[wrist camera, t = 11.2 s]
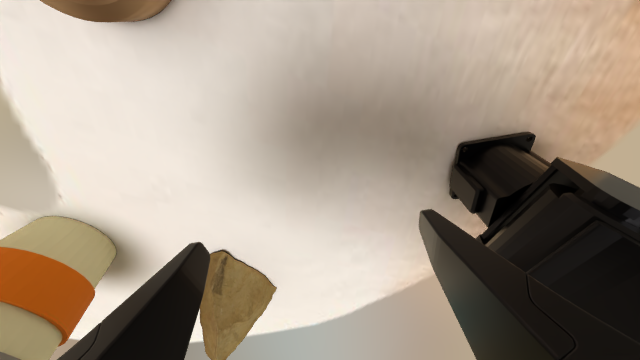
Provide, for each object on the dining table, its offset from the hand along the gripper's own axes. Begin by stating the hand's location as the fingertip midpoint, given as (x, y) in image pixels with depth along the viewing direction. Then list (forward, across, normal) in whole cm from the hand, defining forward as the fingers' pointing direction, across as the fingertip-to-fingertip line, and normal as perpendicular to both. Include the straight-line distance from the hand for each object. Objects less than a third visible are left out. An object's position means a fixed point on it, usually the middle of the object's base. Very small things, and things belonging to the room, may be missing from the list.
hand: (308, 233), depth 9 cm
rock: (+13, +14, +20) cm, 28 cm away
